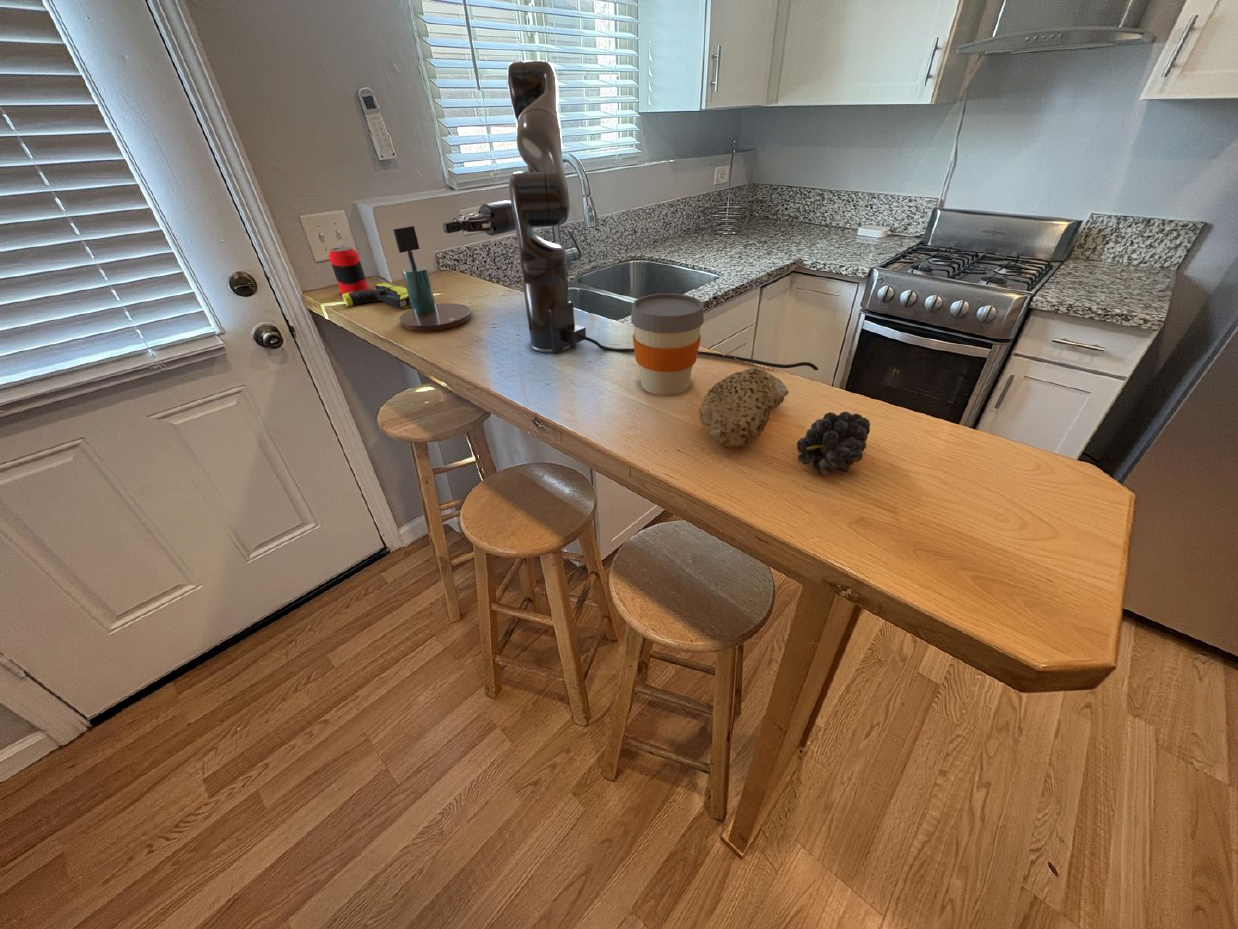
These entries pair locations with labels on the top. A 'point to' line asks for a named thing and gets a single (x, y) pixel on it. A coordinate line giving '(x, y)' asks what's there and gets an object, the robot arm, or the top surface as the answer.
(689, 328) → the reusable coffee cup
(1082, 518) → the top surface
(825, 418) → the fruit
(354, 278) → the soda can
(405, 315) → the teal post stand
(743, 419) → the sponge
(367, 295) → the stun gun
